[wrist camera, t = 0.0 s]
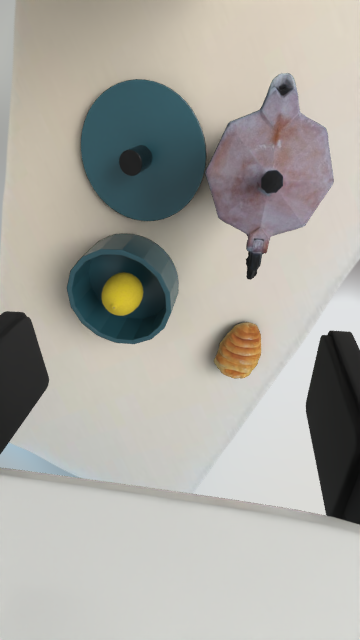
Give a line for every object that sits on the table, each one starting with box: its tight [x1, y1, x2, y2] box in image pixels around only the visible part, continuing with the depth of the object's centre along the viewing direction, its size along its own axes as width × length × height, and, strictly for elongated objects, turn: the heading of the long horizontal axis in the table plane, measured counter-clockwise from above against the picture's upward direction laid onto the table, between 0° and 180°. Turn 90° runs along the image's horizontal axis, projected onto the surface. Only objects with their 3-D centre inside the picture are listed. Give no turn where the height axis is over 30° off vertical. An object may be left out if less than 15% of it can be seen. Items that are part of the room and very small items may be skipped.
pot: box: [67, 234, 179, 344], centre depth 49 cm, size 14×14×6 cm
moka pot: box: [205, 73, 334, 280], centre depth 32 cm, size 10×15×20 cm, turn 2°
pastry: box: [214, 322, 261, 378], centre depth 53 cm, size 9×7×4 cm
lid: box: [81, 79, 206, 221], centre depth 40 cm, size 15×15×6 cm
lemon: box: [102, 272, 143, 316], centre depth 48 cm, size 6×6×8 cm
